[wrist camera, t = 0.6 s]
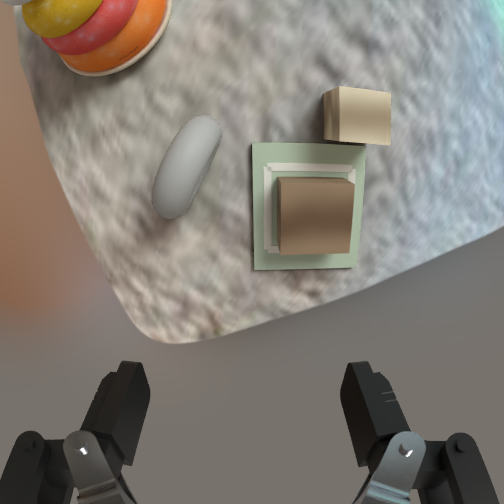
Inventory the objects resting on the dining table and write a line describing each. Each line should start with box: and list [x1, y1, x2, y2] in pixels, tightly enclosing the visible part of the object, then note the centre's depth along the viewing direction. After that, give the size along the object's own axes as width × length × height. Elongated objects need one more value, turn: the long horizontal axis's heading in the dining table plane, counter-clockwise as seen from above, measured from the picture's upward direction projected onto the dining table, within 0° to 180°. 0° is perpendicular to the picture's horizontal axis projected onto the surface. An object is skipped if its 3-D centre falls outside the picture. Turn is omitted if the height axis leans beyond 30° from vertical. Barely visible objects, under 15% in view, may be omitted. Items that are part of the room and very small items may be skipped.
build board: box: [252, 143, 366, 270], centre depth 32 cm, size 14×12×1 cm
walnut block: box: [277, 177, 355, 255], centre depth 30 cm, size 7×7×4 cm
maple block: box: [323, 86, 391, 145], centre depth 26 cm, size 5×5×6 cm
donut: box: [152, 115, 222, 219], centre depth 26 cm, size 10×4×10 cm, turn 153°
